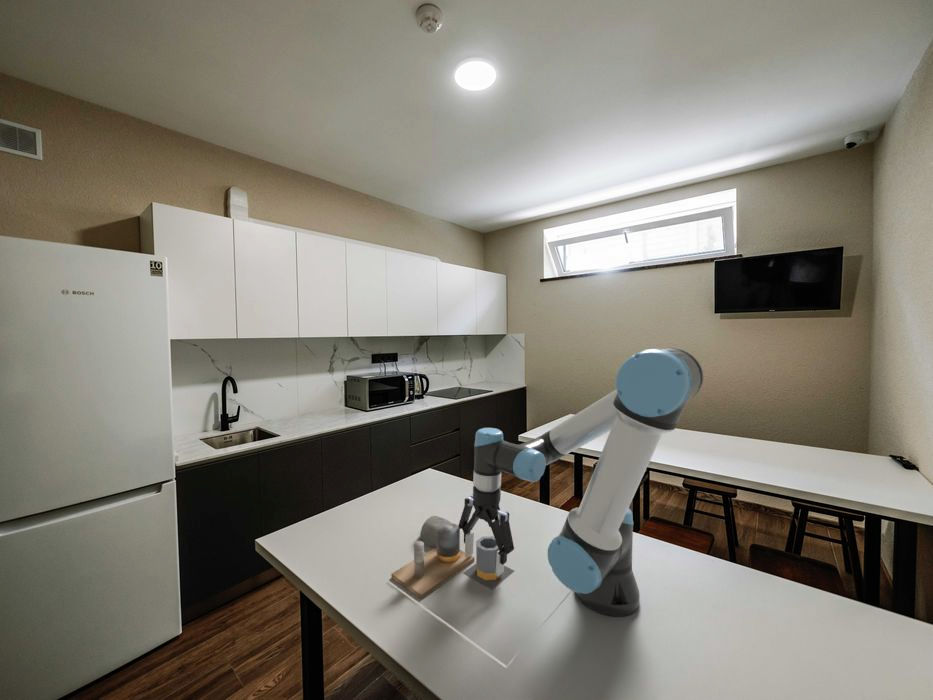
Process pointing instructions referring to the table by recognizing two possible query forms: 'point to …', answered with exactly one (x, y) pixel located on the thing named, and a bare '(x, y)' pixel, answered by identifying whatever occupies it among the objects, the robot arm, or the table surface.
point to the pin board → (434, 563)
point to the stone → (431, 530)
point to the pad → (488, 583)
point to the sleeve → (486, 558)
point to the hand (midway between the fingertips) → (483, 564)
